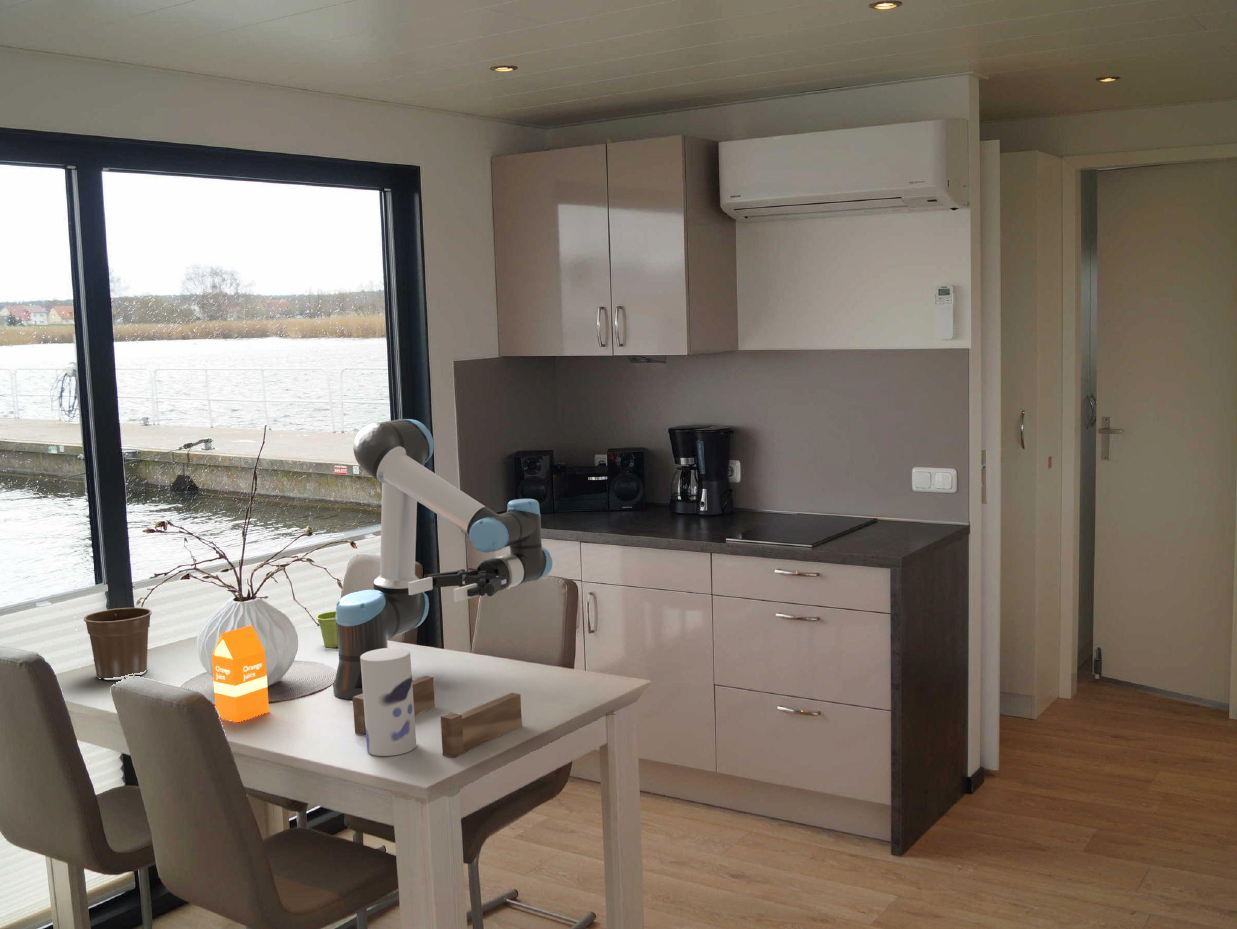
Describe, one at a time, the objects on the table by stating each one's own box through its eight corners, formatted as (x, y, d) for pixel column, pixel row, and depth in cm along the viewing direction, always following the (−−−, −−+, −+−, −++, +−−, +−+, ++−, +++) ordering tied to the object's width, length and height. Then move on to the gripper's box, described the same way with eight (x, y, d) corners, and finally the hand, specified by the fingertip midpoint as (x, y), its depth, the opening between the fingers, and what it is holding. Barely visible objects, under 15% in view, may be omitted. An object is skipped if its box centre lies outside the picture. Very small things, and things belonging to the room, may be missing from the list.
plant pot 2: (343, 650, 313) (341, 619, 312) (312, 649, 315) (310, 618, 314) (358, 641, 322) (356, 611, 321) (327, 640, 324) (325, 610, 323)
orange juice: (215, 717, 258) (209, 631, 256) (248, 706, 265) (241, 623, 263) (237, 723, 254) (231, 635, 251) (270, 712, 261) (263, 626, 259)
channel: (354, 733, 244) (352, 696, 243) (426, 705, 262) (424, 671, 261) (453, 757, 227) (451, 718, 227) (522, 726, 245) (521, 689, 244)
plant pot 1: (155, 662, 307) (150, 603, 305) (158, 677, 292) (153, 616, 291) (89, 671, 300) (83, 611, 299) (88, 687, 286) (83, 624, 284)
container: (397, 759, 227) (390, 661, 225) (357, 753, 232) (350, 658, 229) (426, 742, 236) (419, 648, 234) (386, 737, 240) (380, 645, 238)
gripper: (541, 595, 252) (475, 616, 235) (460, 584, 267) (392, 602, 250) (540, 562, 251) (473, 580, 234) (458, 552, 266) (390, 569, 249)
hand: (431, 592), depth 242 cm, fingers open, 13 cm apart
